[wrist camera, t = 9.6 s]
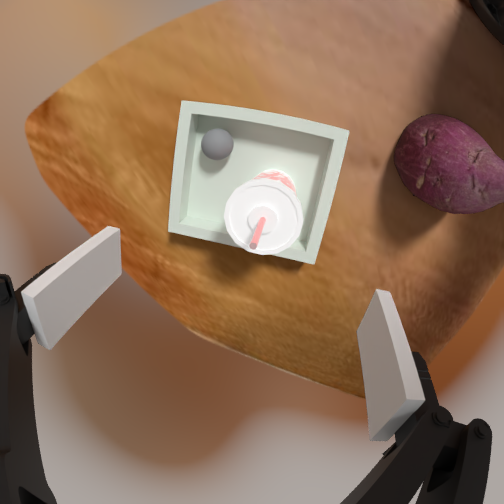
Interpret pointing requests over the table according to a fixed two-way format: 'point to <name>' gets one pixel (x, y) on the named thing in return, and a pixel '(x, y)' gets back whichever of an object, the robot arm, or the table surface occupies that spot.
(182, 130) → the tray
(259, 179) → the beverage cup
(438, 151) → the vegetable
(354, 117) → the table surface
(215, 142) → the ball
